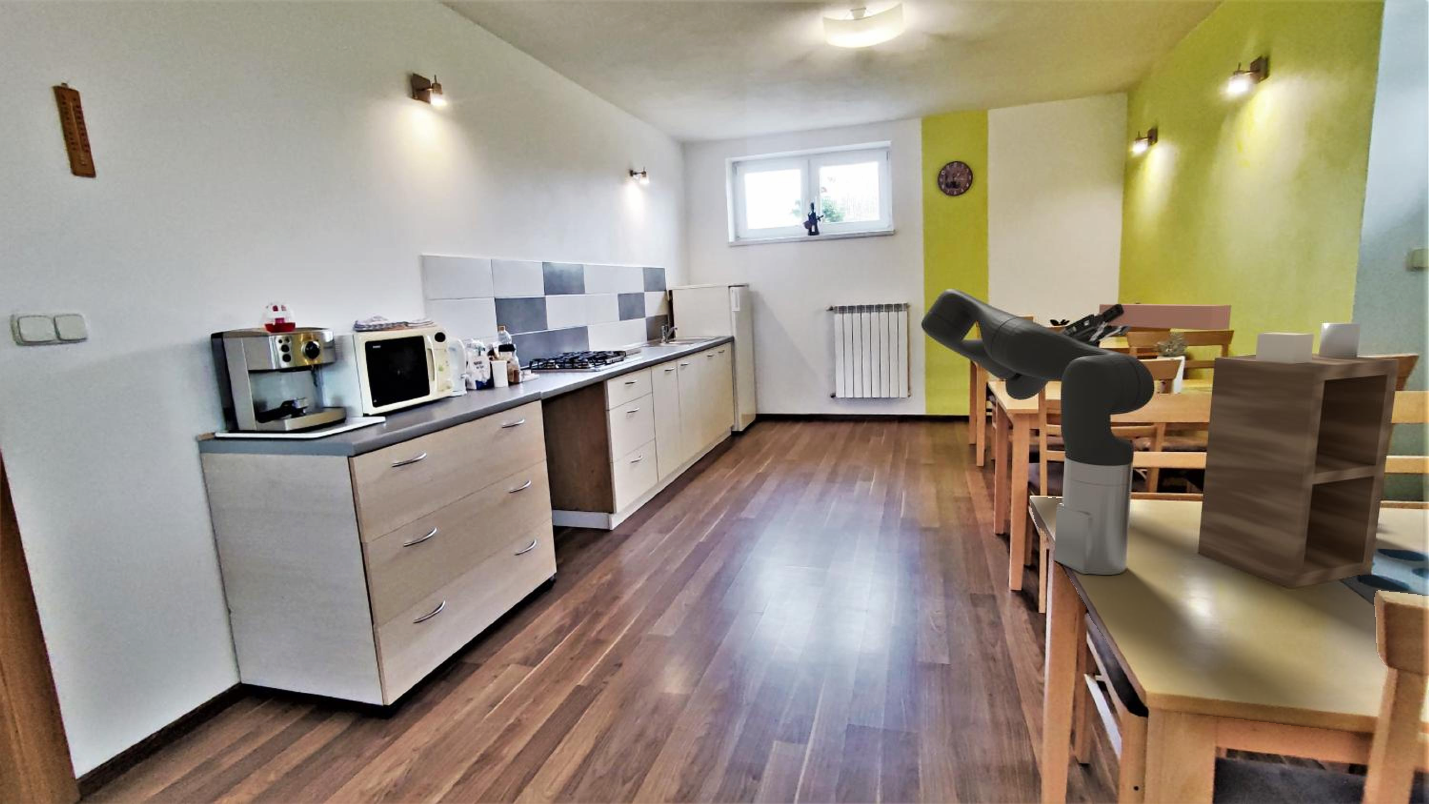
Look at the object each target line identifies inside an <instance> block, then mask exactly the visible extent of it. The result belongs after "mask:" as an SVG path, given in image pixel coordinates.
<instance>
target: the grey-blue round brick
mask: <svg viewBox="0 0 1429 804" xmlns="http://www.w3.org/2000/svg"><path fill="white" fill-rule="evenodd" d="M1361 326H1362V323H1361V322H1322V323H1321V331H1320V339H1319V341H1320V342H1319V348H1318V349H1319V350H1318V354H1319V356H1318V357H1322V358H1340V359H1350V358H1357V357H1358V351H1359V342H1360V333H1361Z"/></svg>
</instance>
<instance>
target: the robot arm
mask: <svg viewBox="0 0 1429 804" xmlns="http://www.w3.org/2000/svg"><path fill="white" fill-rule="evenodd" d="M1115 304H1116V305H1114V306H1113V307H1111V308H1110V309H1108V310H1106V311H1105V312H1100V313H1099V312H1098V313H1096V315H1095V314H1094V313H1092V314H1089V315H1087V316H1085V317H1082V318H1080V319H1079V320H1077V321H1074V322H1072V323H1070V324H1068V325H1066V326H1065V327H1064V328H1063V329H1061V330H1060V331H1058V330H1057V331H1056V330H1054V329H1051V328H1048V327H1047V326H1045V325H1042V324H1040V323H1038V322H1035V321H1033V320H1030V319H1027V318H1025V317H1021V316H1019V315H1017V314H1016V315H1015V314H1013V313H1009V312H1007V311H1005V310H1002V309H999V308H997V307H994V306H992V305H990V304H988V303H986V302H985V301H982V300H980V299H978V298H976V297H974V296H972V295H970V294H968V293H965V292H964V291H961V290H959V289H955V288H948V289H945V290H944V291H943V292H941V293H940V295H938V297H937V299H936V300H935V301H934V302H933V304H932V305H931V307H930V308H929V309H928V311H927V313H926V314H925V315H924V317H923V319H922V320H921V323H920V324H921V325H920V326H921V329H922V330H923V332H924V333H925V334H927V336H928V337H930V338H931V339H932V340H935V342H937V343H939V344H941V345H943V346H944V347H946V348H947V349H949V350H950V351H953V352H955V353H956V354H958V355H960V356H962V357H964V358H966V359H968V360H969V361H971V362H972V361H973V362H974V363H976V364H977V365H979V366H980V367H982V368H983V369H984V370H986V371H987V372H988V373H989V374H991V375H993V377H996V378H997V379H1001V380H1004V383H1005V387H1004V388H1005V392H1006V393H1007V396H1009V397H1010V398H1012V399H1014V400H1018V401H1023V400H1028V399H1031V398H1033V397H1035V396H1037V395H1038V394H1039V393H1040V392H1041V391H1042V390H1043V389H1044V388H1045V387H1046V386H1047V384H1048V383H1049V382H1050V381H1054V382H1059V383H1060V434H1061V439H1062V441H1063V445H1064V467H1063V483H1062V484H1063V485H1062V502H1059V503H1057V505H1056V513H1055V514H1056V515H1055V536H1054V552H1053V553H1054V554H1053V558H1054V559H1053V560H1054V561H1055V562H1058V563H1060V564H1062V565H1063V566H1066V567H1068V568H1070V569H1072V570H1074V571H1075V572H1077V573H1079V574H1081V575H1086V574H1091V575H1092V574H1093V575H1102V576H1103V575H1105V576H1109V575H1111V576H1112V575H1118V574H1121V573H1124V572H1125V571H1126V569H1127V555H1128V543H1129V542H1128V541H1129V526H1130V513H1131V512H1130V510H1131V498H1132V497H1131V496H1132V481H1133V468H1134V458H1135V457H1134V456H1135V447H1134V443H1132V442H1131V441H1130V440H1128V439H1126V438H1123V437H1121V436H1116V435H1115V434H1114V433H1113V432H1112V423H1111V421H1112V420H1111V419H1112V418H1111V416H1115V415H1123V414H1129V413H1132V412H1135V411H1138V410H1140V409H1142V408H1143V407H1145V406H1146V405H1147V404H1148V403H1149V402H1150V401H1151V400H1152V398H1153V397H1154V393H1155V386H1156V385H1155V380H1154V377H1153V375H1152V373H1151V371H1150V369H1149V368H1148V366H1146V365H1145V364H1144V362H1142V361H1141V360H1140V359H1139V358H1137V357H1134V356H1132V355H1130V354H1127V353H1122V352H1117V351H1114V350H1110V349H1105V348H1103V347H1102V348H1101V347H1100V343H1101V342H1102V341H1105V340H1106V339H1108V338H1109V337H1111V336H1112V335H1115V334H1116V333H1117V336H1120V337H1121V336H1123V335H1125V334H1127V332H1128V331H1129V330H1130V329H1131V328H1132V327H1131V326H1112V325H1107V324H1108V322H1111V321H1113V320H1114V319H1116V318H1118V317H1119V316H1121V315H1122V314H1123V313H1124V310H1123V308H1122V304H1123V303H1115ZM1134 304H1142V303H1140V302H1135V303H1134ZM976 323H977V324H978V327H979V333H980V337H981V338H973V339H966V338H965V337H966V336H968V333H969V332H970V331H971V330H972V328H973V326H974V325H975V324H976Z"/></svg>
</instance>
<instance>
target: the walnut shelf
mask: <svg viewBox="0 0 1429 804" xmlns="http://www.w3.org/2000/svg"><path fill="white" fill-rule="evenodd" d="M1318 356H1319V353H1313V352H1312V357H1311V362H1307V363H1294V364H1290V363H1278V362H1267V361H1255V358H1256V354H1248V355H1247V354H1246V355H1236V356H1235V355H1233V356H1221V357H1218V356H1217V357H1214V362H1213V363H1214V364H1213V376H1212V377H1213V378H1212V388H1211V399H1210V407H1209V408H1210V411H1209V421H1208V430H1207V432H1208V434H1207V443H1206V456H1205V467H1204V477H1203V480H1204V481H1203V488H1202V489H1203V490H1202V498H1201V499H1202V502H1201V512H1200V513H1201V514H1200V525H1199V536H1198V537H1199V538H1198V546H1197V554H1200V555H1202V556H1205V557H1207V558H1209V559H1212V560H1215V561H1217V562H1220V563H1223V564H1225V565H1227V566H1230V567H1233V568H1236V569H1237V570H1238V569H1239V570H1241V571H1244V572H1246V573H1249V574H1252V575H1254V576H1256V577H1259V578H1262V579H1265V580H1267V581H1269V582H1272V583H1275V584H1276V585H1280V586H1282V587H1286V588H1288V589H1289V590H1290V589H1296V588H1300V587H1301V588H1302V587H1306V586H1312V585H1317V584H1322V583H1326V582H1327V583H1328V582H1331V581H1332V582H1334V581H1338V580H1343V578H1344V579H1348V578H1347V577H1349V578H1352V577H1351V576H1355V577H1358V576H1357V575H1360V576H1365V575H1369V574H1372V571H1373V562H1374V555H1375V550H1376V549H1375V547H1376V541H1377V534H1378V525H1379V520H1380V519H1379V518H1380V510H1381V502H1382V496H1383V495H1382V494H1383V490H1384V489H1383V486H1384V480H1385V472H1386V463H1387V457H1388V450H1389V443H1390V442H1389V441H1390V437H1391V436H1390V435H1391V434H1390V433H1391V427H1392V419H1393V411H1394V405H1395V397H1396V388H1397V383H1398V382H1397V381H1398V374H1399V367H1400V359H1397V358H1382V357H1381V358H1380V357H1368V356H1367V357H1366V356H1357V358H1350V359H1340V358H1322V357H1318Z"/></svg>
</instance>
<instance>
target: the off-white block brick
mask: <svg viewBox="0 0 1429 804" xmlns="http://www.w3.org/2000/svg"><path fill="white" fill-rule="evenodd" d="M1314 339H1315V334H1314V333H1303V332H1302V333H1301V332H1278V331H1275V332H1261V333H1260V332H1259V333H1257V340H1256V351H1255V355H1256V358H1255V361H1267V362H1278V363H1290V364H1294V363H1307V362H1311V357H1312V353H1313V348H1314V347H1313V346H1314Z"/></svg>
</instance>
